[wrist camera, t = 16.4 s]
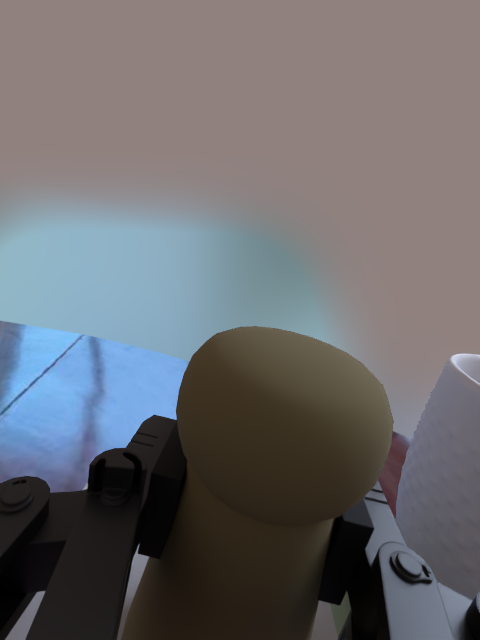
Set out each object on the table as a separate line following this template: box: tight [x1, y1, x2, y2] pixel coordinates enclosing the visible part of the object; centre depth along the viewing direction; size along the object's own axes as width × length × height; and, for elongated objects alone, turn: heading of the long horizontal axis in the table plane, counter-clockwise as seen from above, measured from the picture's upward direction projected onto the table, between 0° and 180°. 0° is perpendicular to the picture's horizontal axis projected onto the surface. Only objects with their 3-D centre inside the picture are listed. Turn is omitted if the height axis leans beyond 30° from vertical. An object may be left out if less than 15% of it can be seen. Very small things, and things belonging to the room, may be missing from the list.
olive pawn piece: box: [121, 326, 394, 640], centre depth 9 cm, size 6×6×11 cm
